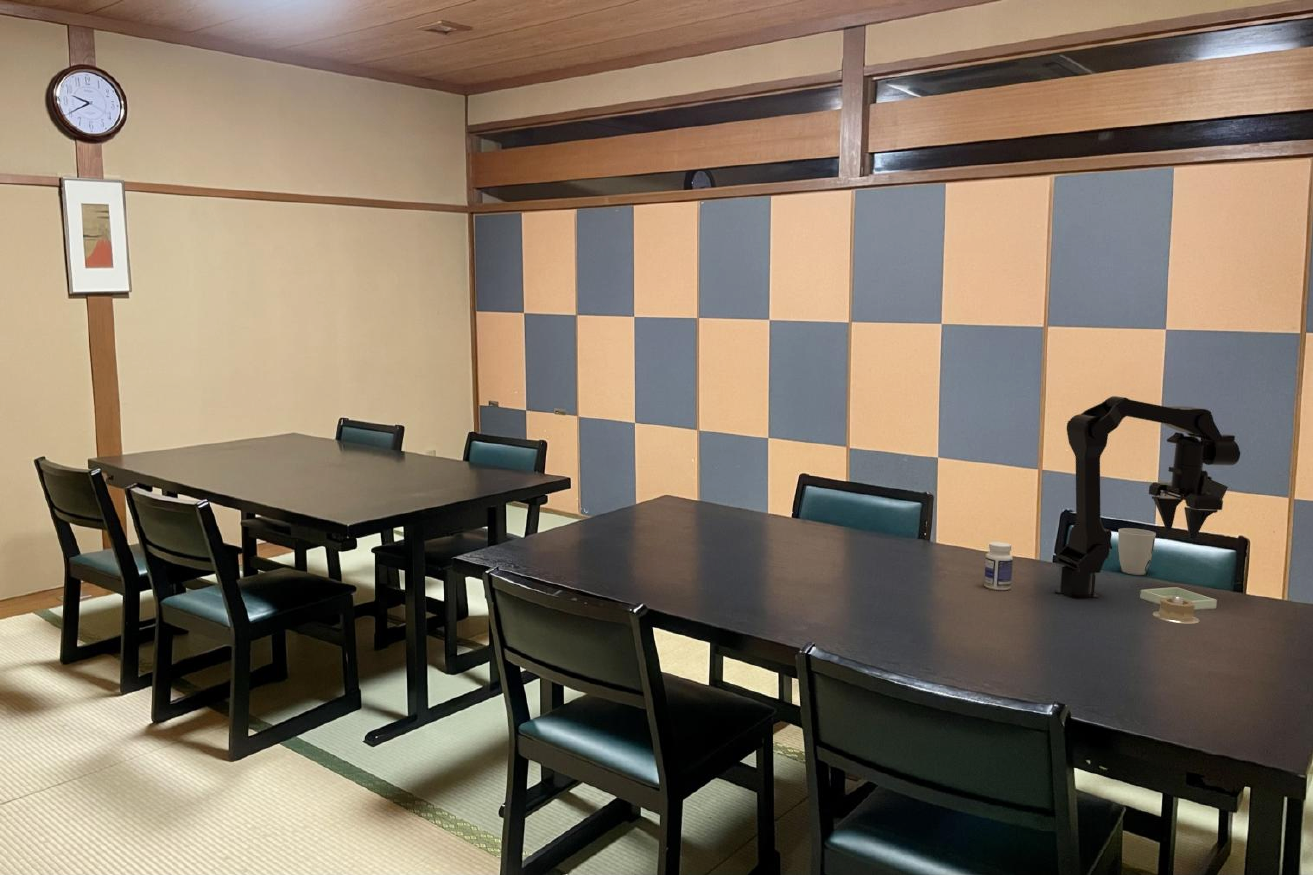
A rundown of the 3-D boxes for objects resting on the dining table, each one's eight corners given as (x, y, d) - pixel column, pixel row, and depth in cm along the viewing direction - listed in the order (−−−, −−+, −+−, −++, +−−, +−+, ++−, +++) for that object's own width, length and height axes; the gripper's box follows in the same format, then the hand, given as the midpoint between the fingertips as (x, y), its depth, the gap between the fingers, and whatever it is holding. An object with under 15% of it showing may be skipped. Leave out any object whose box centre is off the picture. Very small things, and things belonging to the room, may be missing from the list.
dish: (1178, 613, 204) (1179, 603, 204) (1139, 599, 213) (1140, 589, 213) (1215, 610, 207) (1216, 599, 207) (1175, 596, 217) (1176, 587, 217)
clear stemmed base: (1177, 626, 195) (1179, 604, 194) (1143, 614, 202) (1145, 592, 202) (1209, 623, 197) (1211, 601, 197) (1174, 611, 205) (1176, 590, 205)
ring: (1176, 622, 196) (1178, 606, 196) (1152, 613, 202) (1154, 598, 201) (1199, 620, 198) (1201, 604, 198) (1175, 611, 204) (1176, 596, 203)
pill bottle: (1011, 586, 222) (1015, 543, 220) (1009, 592, 216) (1012, 548, 215) (985, 582, 224) (988, 539, 223) (982, 588, 219) (985, 544, 218)
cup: (1156, 577, 233) (1160, 536, 232) (1119, 574, 235) (1123, 533, 234) (1146, 569, 241) (1150, 529, 240) (1111, 566, 243) (1114, 527, 242)
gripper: (1251, 472, 207) (1242, 545, 209) (1198, 459, 225) (1190, 526, 227) (1200, 470, 206) (1191, 543, 208) (1151, 457, 225) (1143, 524, 227)
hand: (1180, 534), depth 217 cm, fingers open, 9 cm apart
